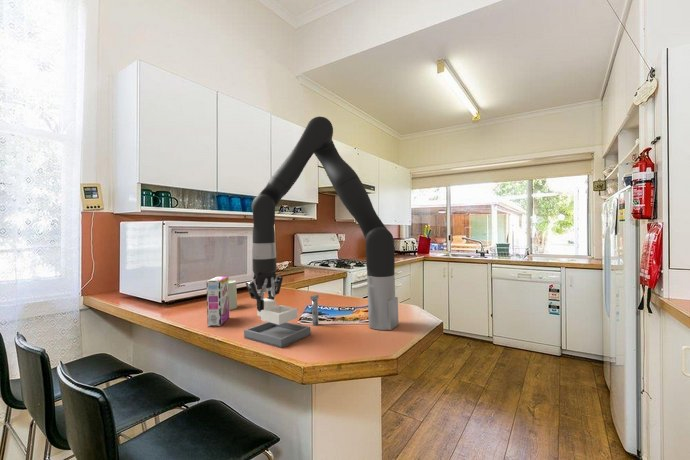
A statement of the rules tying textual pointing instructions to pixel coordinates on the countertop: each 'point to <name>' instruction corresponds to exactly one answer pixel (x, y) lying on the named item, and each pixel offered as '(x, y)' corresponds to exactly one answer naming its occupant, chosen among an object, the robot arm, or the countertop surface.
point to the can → (232, 295)
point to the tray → (277, 333)
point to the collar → (277, 312)
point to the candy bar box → (217, 301)
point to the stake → (315, 309)
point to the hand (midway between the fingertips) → (266, 309)
